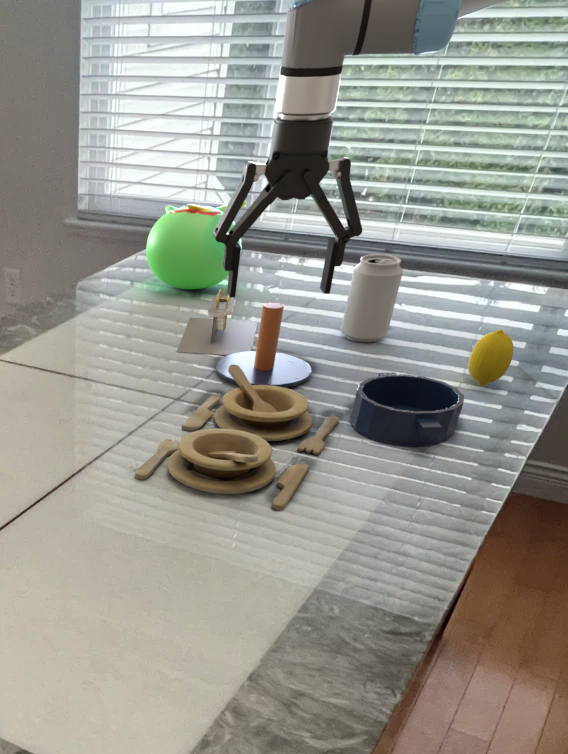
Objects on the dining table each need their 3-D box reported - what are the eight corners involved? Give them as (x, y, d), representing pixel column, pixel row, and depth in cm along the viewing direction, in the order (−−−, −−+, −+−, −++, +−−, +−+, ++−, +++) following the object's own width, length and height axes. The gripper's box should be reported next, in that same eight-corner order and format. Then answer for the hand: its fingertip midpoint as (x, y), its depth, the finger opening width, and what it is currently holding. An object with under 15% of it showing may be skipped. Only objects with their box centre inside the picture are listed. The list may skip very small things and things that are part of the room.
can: (358, 326, 146) (376, 249, 138) (395, 337, 141) (415, 258, 133) (330, 335, 143) (346, 257, 135) (367, 347, 138) (386, 267, 130)
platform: (257, 321, 149) (263, 281, 145) (250, 356, 136) (256, 313, 132) (190, 317, 152) (194, 277, 147) (176, 351, 139) (180, 309, 135)
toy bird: (133, 294, 163) (138, 207, 153) (158, 271, 174) (164, 188, 164) (225, 303, 157) (236, 213, 147) (244, 278, 168) (256, 193, 158)
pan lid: (298, 356, 136) (310, 289, 129) (320, 391, 125) (335, 319, 118) (209, 359, 136) (216, 291, 129) (223, 393, 126) (233, 322, 119)
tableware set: (281, 513, 99) (290, 465, 95) (128, 479, 106) (130, 434, 102) (342, 419, 118) (352, 376, 114) (208, 396, 125) (213, 355, 121)
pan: (426, 397, 122) (436, 366, 119) (476, 454, 108) (488, 420, 105) (334, 399, 123) (341, 368, 120) (371, 456, 109) (380, 422, 106)
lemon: (498, 395, 122) (519, 338, 117) (458, 389, 124) (476, 332, 119) (503, 382, 126) (523, 326, 120) (464, 376, 128) (482, 321, 122)
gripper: (392, 106, 111) (356, 281, 125) (203, 115, 112) (188, 288, 126) (411, 114, 105) (371, 297, 120) (211, 124, 106) (195, 304, 120)
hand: (277, 293), depth 123 cm, fingers open, 13 cm apart
